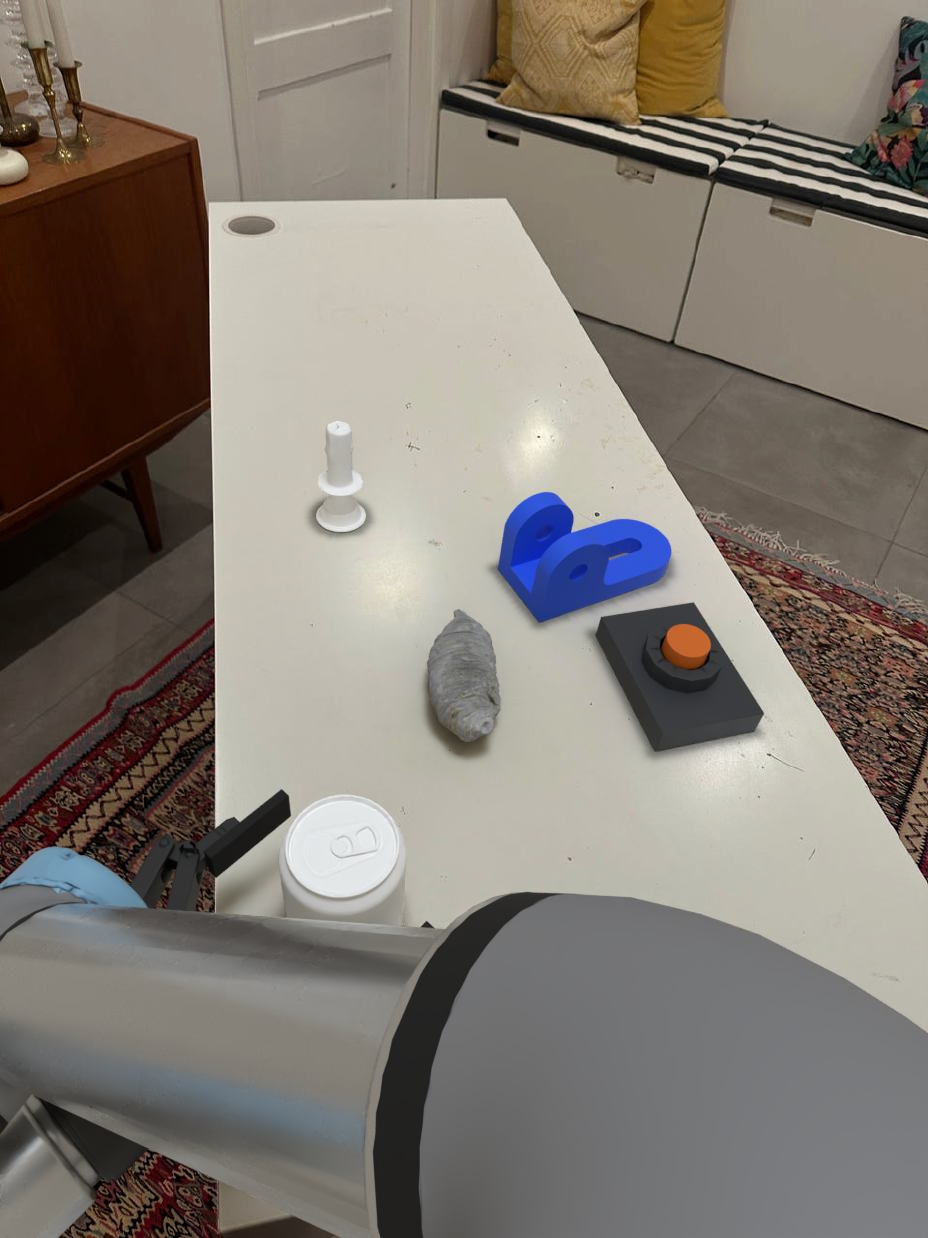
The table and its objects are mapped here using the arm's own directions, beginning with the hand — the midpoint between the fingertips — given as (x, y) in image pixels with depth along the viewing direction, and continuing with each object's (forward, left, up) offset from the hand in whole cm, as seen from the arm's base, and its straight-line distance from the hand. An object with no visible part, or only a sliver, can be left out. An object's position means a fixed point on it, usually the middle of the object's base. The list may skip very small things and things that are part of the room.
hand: (355, 864), depth 58 cm
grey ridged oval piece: (+19, -13, -8) cm, 24 cm away
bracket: (+31, -31, -8) cm, 45 cm away
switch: (+16, -33, -4) cm, 37 cm away
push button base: (+16, -33, -8) cm, 38 cm away
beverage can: (0, +1, -8) cm, 8 cm away
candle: (+45, -7, -8) cm, 46 cm away
